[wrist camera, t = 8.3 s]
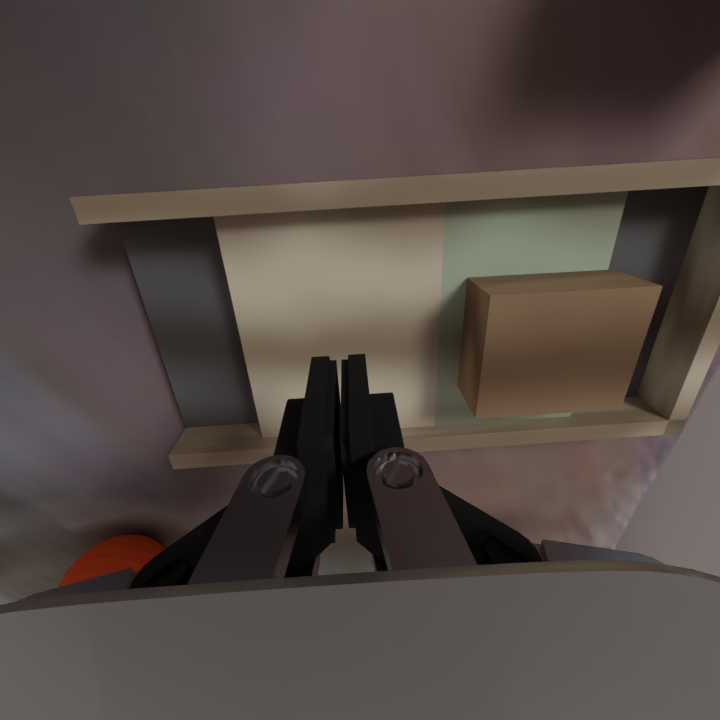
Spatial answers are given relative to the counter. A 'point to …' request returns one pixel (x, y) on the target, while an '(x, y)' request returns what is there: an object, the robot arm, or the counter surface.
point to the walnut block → (552, 341)
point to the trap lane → (409, 292)
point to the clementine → (113, 557)
